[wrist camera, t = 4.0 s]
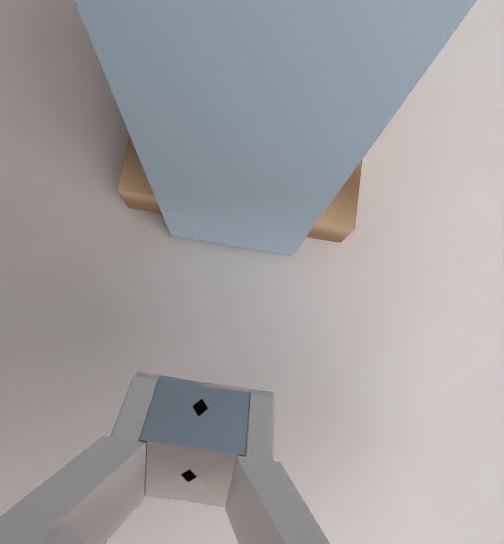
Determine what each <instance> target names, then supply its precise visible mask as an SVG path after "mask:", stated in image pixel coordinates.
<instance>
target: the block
mask: <svg viewBox="0 0 504 544" xmlns="http://www.w3.org/2000/svg"><path fill="white" fill-rule="evenodd" d="M74 1H75V3H76V6H77V8H78V11H79V13H80V16H81V18H82V20H83V23H84V25H85V28H86V30H87V33H88V35H89V37H90V40H91V42H92V45H93V47H94V50H95V52H96V55H97V57H98V59H99V62H100V64H101V67H102V69H103V72H104V74H105V76H106V79H107V81H108V84H109V86H110V89H111V91H112V93H113V96H114V98H115V101H116V103H117V106H118V108H119V110H120V113H121V115H122V118H123V120H124V123H125V125H126V127H127V130H128V132H129V135H130V137H131V140H132V142H133V144H134V147H135V149H136V152H137V154H138V157H139V159H140V162H141V164H142V166H143V169H144V171H145V174H146V176H147V179H148V181H149V183H150V186H151V188H152V191H153V193H154V196H155V198H156V200H157V203H158V205H159V208H160V210H161V213H162V215H163V217H164V220H165V222H166V225H167V227H168V230H169V232H170V234H171V236H172V237H179V238H185V239H191V240H197V241H203V242H209V243H215V244H222V245H228V246H234V247H240V248H246V249H252V250H258V251H265V252H271V253H277V254H283V255H289V256H293V254H294V253H295V252H296V250H297V249H298V247H299V246H300V245H301V243H302V242H303V240H304V239H305V238H306V236H307V235H308V234H309V232H310V231H311V229H312V228H313V227H314V225H315V224H316V222H317V221H318V220H319V218H320V217H321V216H322V214H323V213H324V211H325V210H326V209H327V207H328V206H329V204H330V203H331V202H332V200H333V199H334V198H335V196H336V195H337V193H338V192H339V191H340V189H341V188H342V186H343V185H344V184H345V182H346V181H347V179H348V178H349V177H350V175H351V174H352V173H353V171H354V170H355V168H356V167H357V166H358V164H359V163H360V161H361V160H362V159H363V157H364V156H365V155H366V153H367V152H368V150H369V149H370V148H371V146H372V145H373V143H374V142H375V141H376V139H377V138H378V137H379V135H380V134H381V132H382V131H383V130H384V128H385V127H386V125H387V124H388V123H389V121H390V120H391V119H392V117H393V116H394V114H395V113H396V112H397V110H398V109H399V107H400V106H401V105H402V103H403V102H404V101H405V99H406V98H407V96H408V95H409V94H410V92H411V91H412V89H413V88H414V87H415V85H416V84H417V83H418V81H419V80H420V78H421V77H422V76H423V74H424V73H425V71H426V70H427V69H428V67H429V66H430V65H431V63H432V62H433V60H434V59H435V58H436V56H437V55H438V53H439V52H440V51H441V49H442V48H443V47H444V45H445V44H446V42H447V41H448V40H449V38H450V37H451V35H452V34H453V33H454V31H455V30H456V29H457V27H458V26H459V24H460V23H461V22H462V20H463V19H464V17H465V16H466V15H467V13H468V12H469V11H470V9H471V8H472V6H473V5H474V4H475V2H476V1H477V0H74Z"/></svg>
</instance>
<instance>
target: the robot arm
mask: <svg viewBox="0 0 504 544" xmlns="http://www.w3.org/2000/svg"><path fill="white" fill-rule="evenodd" d="M273 442H274V395H273V393H272V392H265V391H258V390H252V389H247V388H240V387H233V386H226V385H218V384H211V383H200V382H195V381H189V380H183V379H178V378H172V377H167V376H161V375H154V374H148V373H142V372H137V373H136V374H135V375H134V377H133V379H132V381H131V384H130V386H129V389H128V392H127V394H126V397H125V399H124V402H123V405H122V407H121V410H120V413H119V415H118V418H117V420H116V423H115V426H114V428H113V431H112V433H111V436H110V437H106V436H102V437H101V438H100V439H99V440H97V441H96V442H95V443H93V444H92V445H91V446H90V447H88V448H87V449H86V450H85V451H83V452H82V453H81V454H80V455H78V456H77V457H76V458H74V459H73V460H72V461H71V462H69V463H68V464H67V465H66V466H64V467H63V468H62V469H60V470H59V471H58V472H57V473H55V474H54V475H53V476H52V477H50V478H49V479H48V480H46V481H45V482H44V483H43V484H41V485H40V486H39V487H38V488H36V489H35V490H34V491H32V492H31V493H30V494H29V495H27V496H26V497H25V498H24V499H22V500H21V501H20V502H18V503H17V504H16V505H15V506H13V507H12V508H11V509H10V510H8V511H7V512H6V513H4V514H3V515H2V516H1V517H0V544H105V542H106V541H107V540H108V539H109V538H110V537H111V536H112V535H113V533H114V532H115V531H116V530H117V529H118V528H119V527H120V526H121V524H122V523H123V522H124V521H125V520H126V519H127V518H128V517H129V515H130V514H131V513H132V512H133V511H134V510H135V509H136V508H137V506H138V505H139V504H140V503H141V502H142V501H143V500H144V496H149V497H158V498H167V499H176V500H186V501H191V502H197V503H203V504H208V505H214V506H220V507H226V509H225V510H226V513H227V515H228V518H229V520H230V523H231V525H232V528H233V530H234V533H235V535H236V538H237V540H238V543H239V544H330V543H329V541H328V539H327V538H326V536H325V535H324V533H323V531H322V530H321V528H320V526H319V525H318V523H317V521H316V520H315V518H314V517H313V515H312V513H311V512H310V510H309V508H308V507H307V505H306V503H305V502H304V500H303V499H302V497H301V495H300V494H299V492H298V490H297V489H296V487H295V485H294V484H293V482H292V481H291V479H290V477H289V476H288V474H287V472H286V471H285V469H284V467H283V466H282V464H281V462H277V461H273Z"/></svg>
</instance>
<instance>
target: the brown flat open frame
mask: <svg viewBox="0 0 504 544" xmlns="http://www.w3.org/2000/svg"><path fill="white" fill-rule="evenodd" d="M361 166H362V160H361V161H360V163H359V164H358V166H357V167H356V168H355V170H354V171H353V173H352V174H351V175H350V177H349V178H348V179H347V181H346V182H345V184H344V185H343V186H342V188H341V189H340V191H339V192H338V193H337V195H336V196H335V198H334V199H333V200H332V202H331V203H330V204H329V206H328V207H327V209H326V210H325V211H324V213H323V214H322V216H321V217H320V218H319V220H318V221H317V222H316V224H315V225H314V227H313V228H312V229H311V231H310V232H309V234H308V235H307V236H306V237H311V238H317V239H323V240H329V241H335V242H342V241H343V240H344V239H345V238H346V237H347V236H348V235H349V234H350V233H351V232H352V231H353V230H354V229H355V222H356V213H357V203H358V194H359V185H360V175H361ZM117 190H118V191H119V193H120V194H121V196H122V198H123V199H124V201H125V202H126V204H127V206H128V207H129V208H134V209H141V210H147V211H153V212H159V213H161V210H160V208H159V205H158V203H157V200H156V198H155V196H154V193H153V191H152V188H151V186H150V183H149V181H148V179H147V176H146V174H145V171H144V169H143V166H142V164H141V162H140V159H139V157H138V154H137V152H136V149H135V147H134V144H133V142H132V140H131V137H130V136H129V140H128V145H127V149H126V154H125V158H124V163H123V167H122V172H121V176H120V181H119V185H118V189H117Z"/></svg>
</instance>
